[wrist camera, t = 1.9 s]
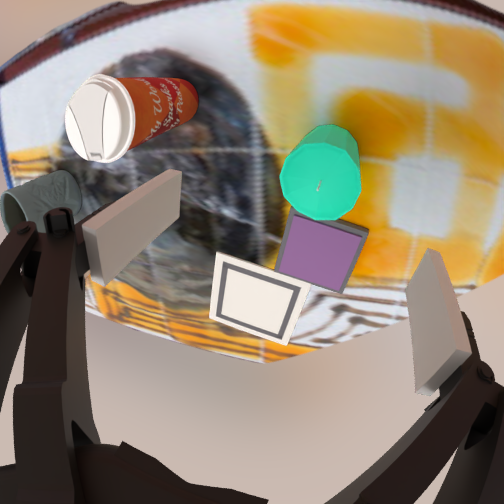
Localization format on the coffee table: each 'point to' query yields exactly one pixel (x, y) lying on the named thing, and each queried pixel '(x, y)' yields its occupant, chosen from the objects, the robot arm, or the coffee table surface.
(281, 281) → the marked card
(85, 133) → the paper cup
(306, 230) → the ink pad
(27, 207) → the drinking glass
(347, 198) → the candle
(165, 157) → the coffee table surface
